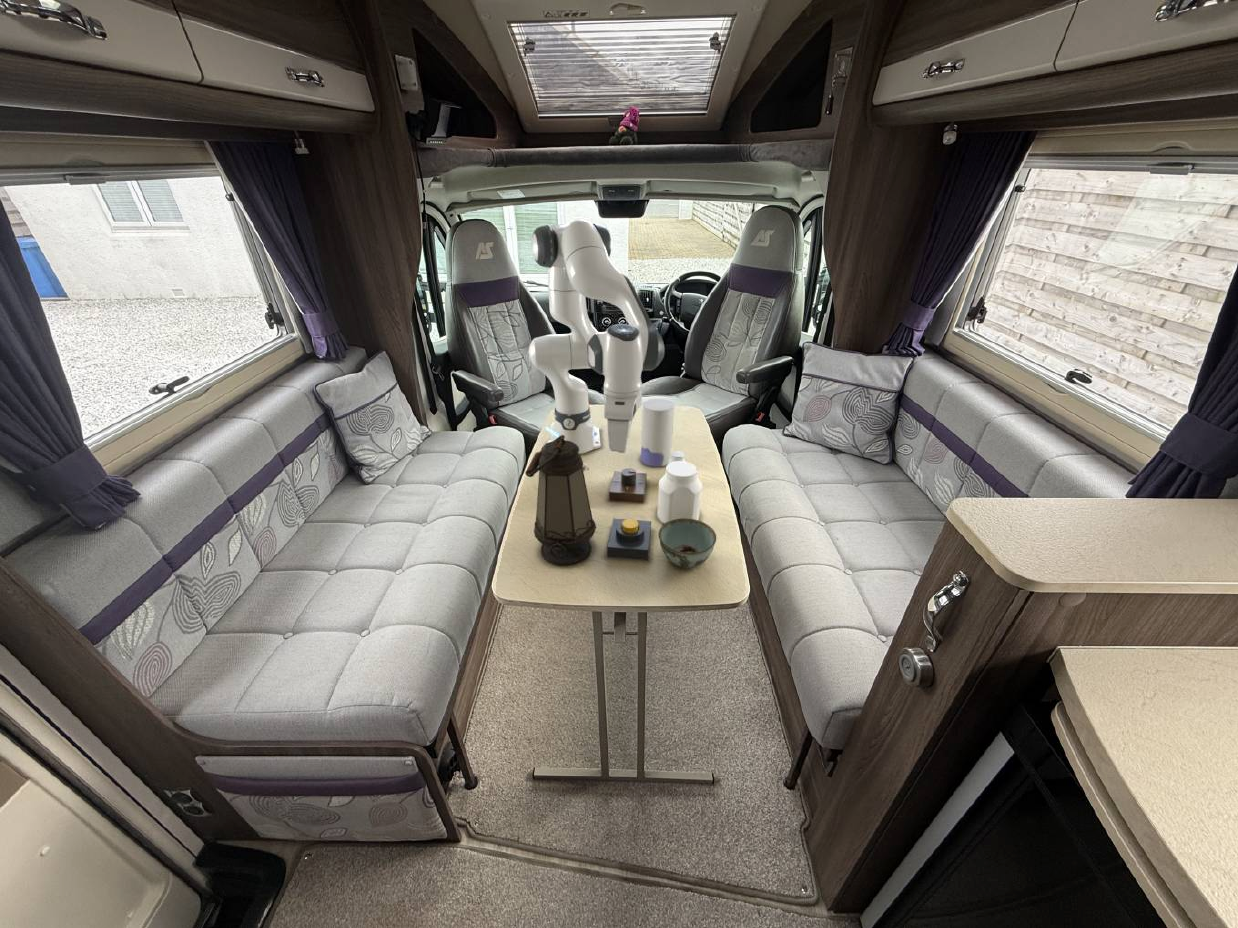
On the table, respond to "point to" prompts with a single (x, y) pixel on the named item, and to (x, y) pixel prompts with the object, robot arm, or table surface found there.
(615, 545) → the trigger housing
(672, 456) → the supplement bottle
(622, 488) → the dial panel
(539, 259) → the robot arm
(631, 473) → the knob
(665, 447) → the container
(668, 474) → the jar
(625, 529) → the cylinder
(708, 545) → the bowl
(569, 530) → the lantern
